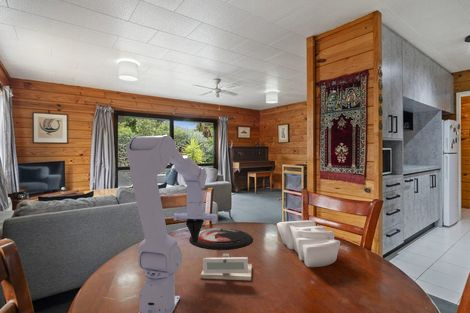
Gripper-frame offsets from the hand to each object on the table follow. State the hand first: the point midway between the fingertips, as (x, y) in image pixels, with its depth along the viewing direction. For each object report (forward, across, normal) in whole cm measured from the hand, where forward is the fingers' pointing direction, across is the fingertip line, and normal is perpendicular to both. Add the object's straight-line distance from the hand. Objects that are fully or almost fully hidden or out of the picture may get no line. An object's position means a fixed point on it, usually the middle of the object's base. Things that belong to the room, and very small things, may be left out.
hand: (195, 241), depth 82 cm
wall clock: (+11, -4, -32) cm, 34 cm away
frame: (+7, -11, +6) cm, 15 cm away
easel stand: (+10, -11, 0) cm, 15 cm away
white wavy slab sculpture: (+10, -40, -19) cm, 46 cm away
